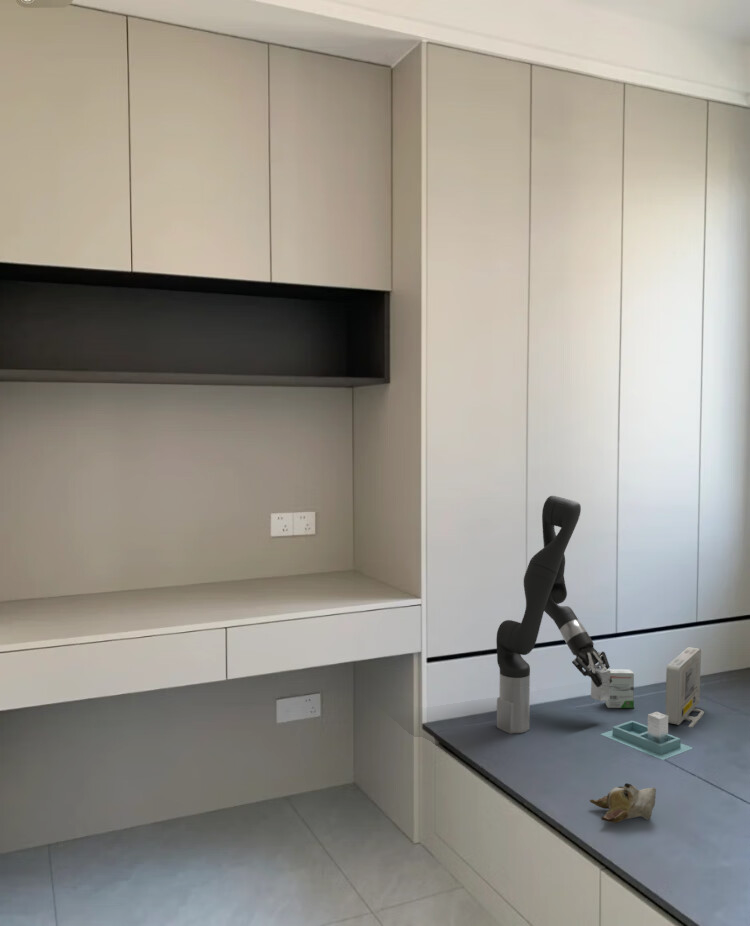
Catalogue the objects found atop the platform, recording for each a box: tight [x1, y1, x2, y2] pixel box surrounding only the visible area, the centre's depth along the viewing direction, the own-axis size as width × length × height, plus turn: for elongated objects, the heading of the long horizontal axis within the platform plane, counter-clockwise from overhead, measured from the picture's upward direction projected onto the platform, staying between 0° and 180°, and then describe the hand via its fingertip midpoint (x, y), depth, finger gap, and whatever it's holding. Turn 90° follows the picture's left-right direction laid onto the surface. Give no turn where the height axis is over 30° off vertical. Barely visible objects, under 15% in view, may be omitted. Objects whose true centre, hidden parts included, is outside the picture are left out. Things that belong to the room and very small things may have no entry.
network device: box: [665, 646, 705, 728], centre depth 266 cm, size 26×9×20 cm, turn 145°
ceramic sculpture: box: [589, 782, 657, 824], centre depth 203 cm, size 11×9×15 cm
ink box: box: [604, 668, 635, 709], centre depth 277 cm, size 9×5×12 cm, turn 84°
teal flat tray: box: [600, 719, 694, 761], centre depth 245 cm, size 14×22×4 cm, turn 35°
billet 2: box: [647, 711, 669, 744], centre depth 241 cm, size 4×4×9 cm
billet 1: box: [590, 666, 610, 702], centre depth 263 cm, size 4×4×9 cm
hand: (604, 684), depth 261 cm, fingers closed on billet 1, 4 cm apart
